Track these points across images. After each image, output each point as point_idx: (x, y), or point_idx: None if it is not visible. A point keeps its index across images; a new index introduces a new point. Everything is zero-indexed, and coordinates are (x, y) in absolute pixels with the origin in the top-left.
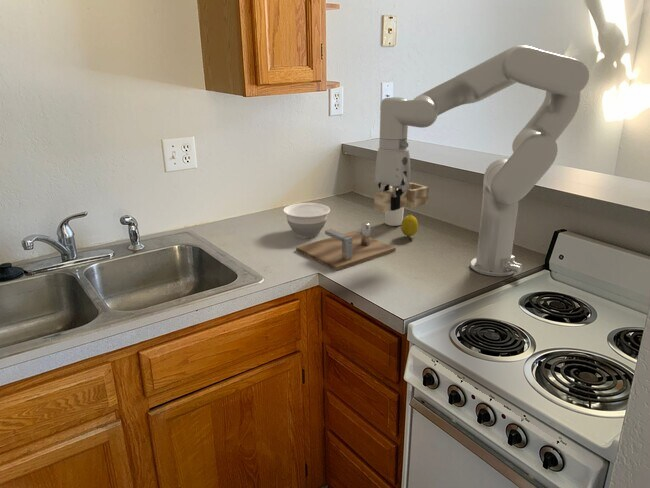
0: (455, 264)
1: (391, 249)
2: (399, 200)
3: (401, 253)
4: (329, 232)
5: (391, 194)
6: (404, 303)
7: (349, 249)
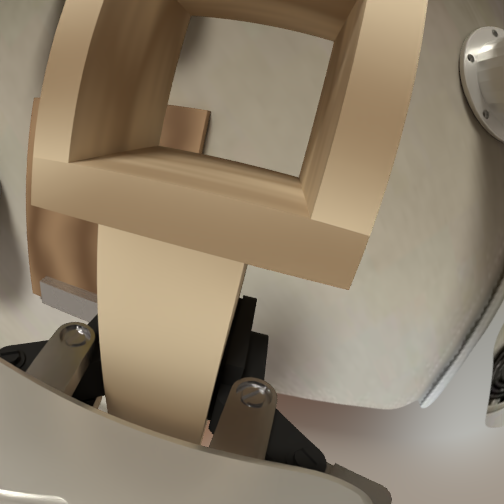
0: (429, 102)
1: (203, 131)
2: (264, 372)
3: (238, 114)
4: (58, 309)
5: (200, 438)
6: (390, 378)
7: None
